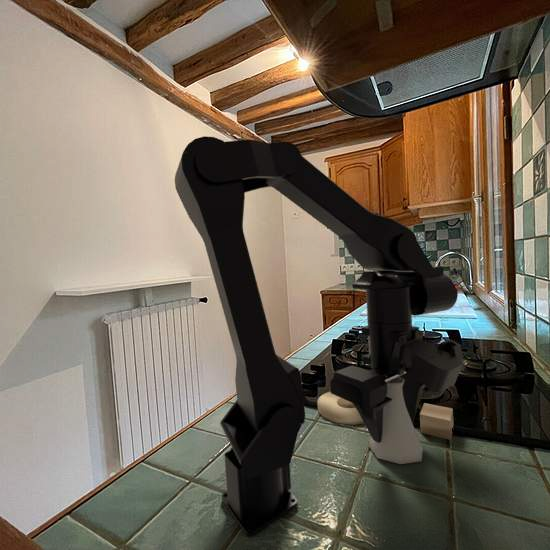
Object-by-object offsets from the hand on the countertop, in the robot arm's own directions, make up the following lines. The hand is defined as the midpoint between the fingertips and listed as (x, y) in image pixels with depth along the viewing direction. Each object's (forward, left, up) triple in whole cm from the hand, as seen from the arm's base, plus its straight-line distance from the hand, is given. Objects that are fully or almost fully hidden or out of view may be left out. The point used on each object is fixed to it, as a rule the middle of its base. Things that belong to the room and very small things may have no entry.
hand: (394, 430), depth 42 cm
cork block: (+9, -1, -3) cm, 9 cm away
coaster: (+4, +12, -3) cm, 13 cm away
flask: (0, 0, -3) cm, 3 cm away
